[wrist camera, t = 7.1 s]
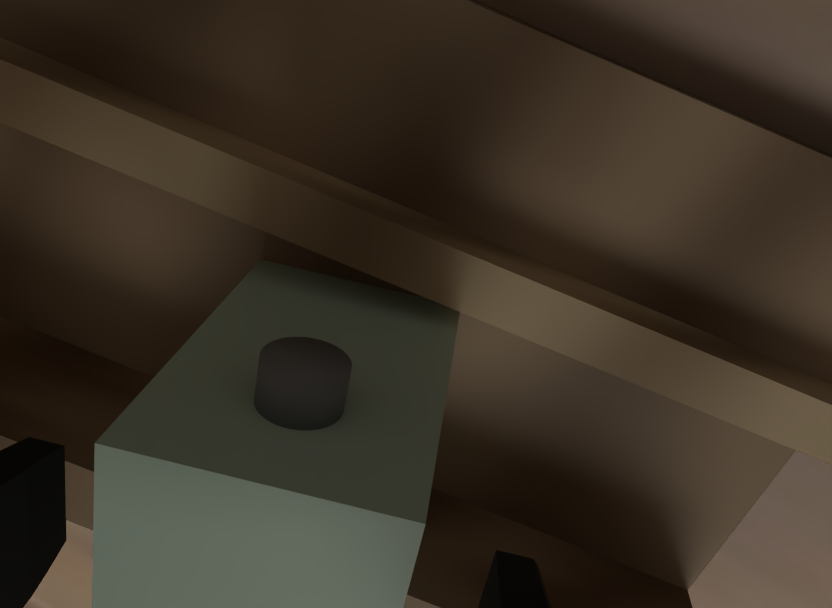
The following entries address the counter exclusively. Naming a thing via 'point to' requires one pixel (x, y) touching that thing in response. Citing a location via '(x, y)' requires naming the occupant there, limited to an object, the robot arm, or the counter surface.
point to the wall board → (429, 259)
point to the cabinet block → (278, 452)
